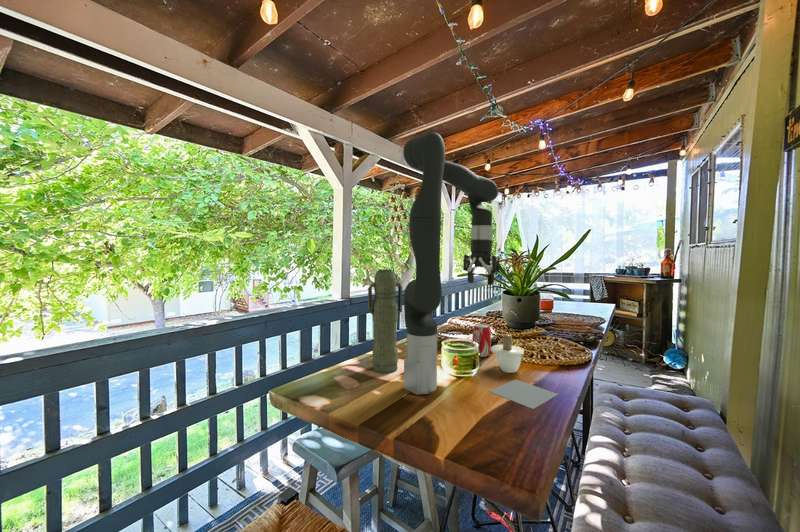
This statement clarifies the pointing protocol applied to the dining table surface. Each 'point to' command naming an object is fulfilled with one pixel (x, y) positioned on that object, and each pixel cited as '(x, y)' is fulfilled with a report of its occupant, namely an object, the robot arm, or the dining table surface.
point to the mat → (524, 393)
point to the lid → (507, 348)
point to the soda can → (482, 338)
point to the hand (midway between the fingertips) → (480, 283)
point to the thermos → (385, 320)
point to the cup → (508, 363)
